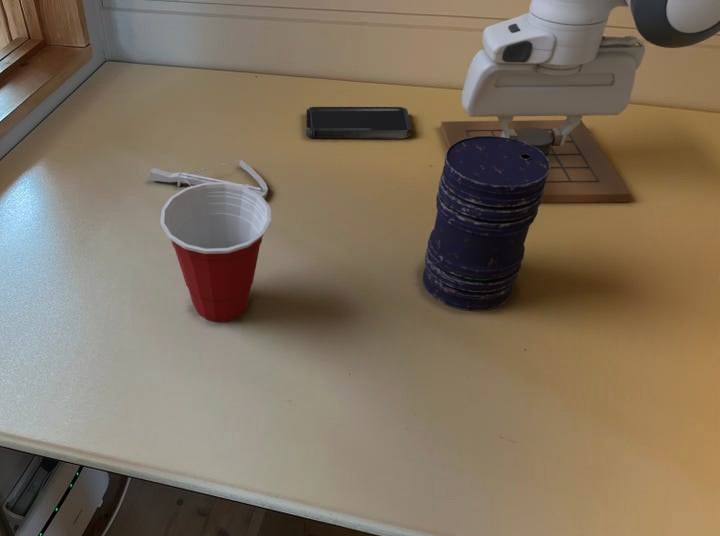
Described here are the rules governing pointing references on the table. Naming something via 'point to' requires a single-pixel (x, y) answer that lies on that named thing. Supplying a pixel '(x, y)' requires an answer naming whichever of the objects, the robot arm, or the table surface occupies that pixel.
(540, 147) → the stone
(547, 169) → the dark blue cylinder
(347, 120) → the phone
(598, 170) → the board
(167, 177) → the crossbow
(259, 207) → the plastic cup
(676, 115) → the table surface
